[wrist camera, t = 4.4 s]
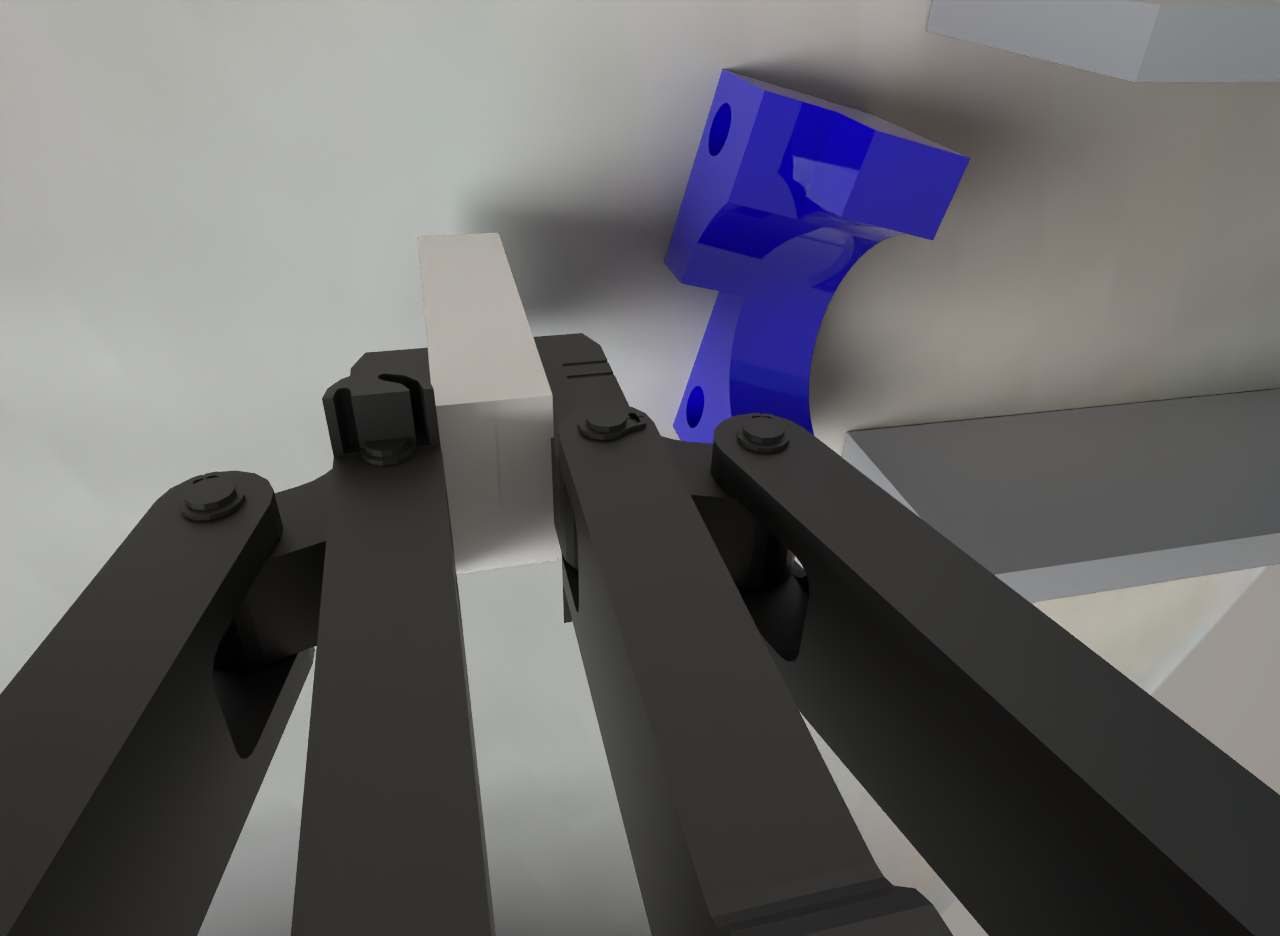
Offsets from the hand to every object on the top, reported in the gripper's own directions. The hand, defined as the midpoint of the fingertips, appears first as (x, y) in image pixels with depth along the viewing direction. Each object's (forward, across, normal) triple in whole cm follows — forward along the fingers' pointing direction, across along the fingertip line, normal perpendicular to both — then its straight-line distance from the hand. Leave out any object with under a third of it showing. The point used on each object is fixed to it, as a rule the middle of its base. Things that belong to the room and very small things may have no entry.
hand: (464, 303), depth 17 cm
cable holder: (+2, -6, 0) cm, 6 cm away
